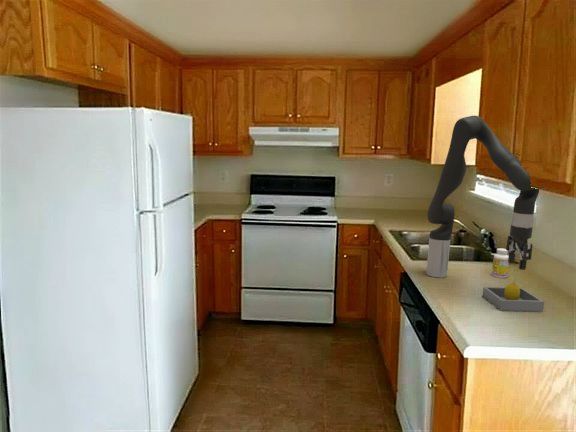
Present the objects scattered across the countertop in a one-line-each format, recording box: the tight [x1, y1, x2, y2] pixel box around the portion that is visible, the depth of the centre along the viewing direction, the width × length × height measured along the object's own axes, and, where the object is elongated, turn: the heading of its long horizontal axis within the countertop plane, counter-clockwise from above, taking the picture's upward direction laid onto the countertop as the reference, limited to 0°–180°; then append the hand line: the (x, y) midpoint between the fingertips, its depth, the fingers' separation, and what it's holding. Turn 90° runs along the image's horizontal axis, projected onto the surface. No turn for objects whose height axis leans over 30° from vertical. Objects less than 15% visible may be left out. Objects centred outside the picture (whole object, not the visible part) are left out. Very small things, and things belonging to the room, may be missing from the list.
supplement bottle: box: [491, 247, 510, 279], centre depth 225 cm, size 7×7×13 cm
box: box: [481, 286, 545, 313], centre depth 188 cm, size 16×16×4 cm
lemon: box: [504, 282, 520, 300], centre depth 187 cm, size 6×6×8 cm
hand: (516, 266), depth 186 cm, fingers open, 8 cm apart
